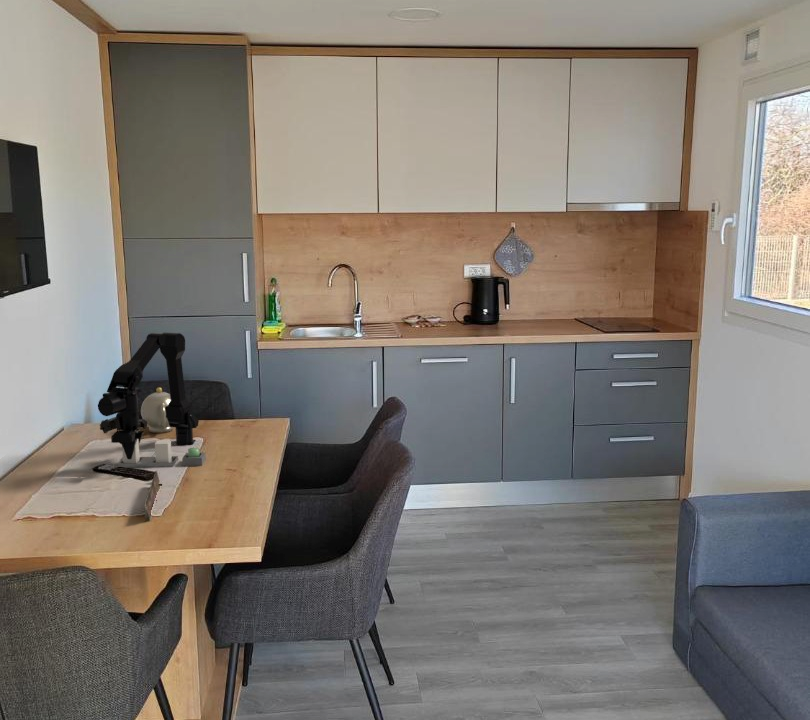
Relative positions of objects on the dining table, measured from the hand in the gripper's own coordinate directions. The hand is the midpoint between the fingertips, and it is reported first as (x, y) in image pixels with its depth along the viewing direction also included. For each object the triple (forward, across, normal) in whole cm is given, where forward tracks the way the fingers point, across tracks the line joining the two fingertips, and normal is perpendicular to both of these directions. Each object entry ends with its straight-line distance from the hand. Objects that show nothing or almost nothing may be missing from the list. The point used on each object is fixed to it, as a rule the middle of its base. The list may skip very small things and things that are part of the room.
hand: (131, 457), depth 252 cm
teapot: (+4, -44, -1) cm, 44 cm away
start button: (+1, 0, +19) cm, 20 cm away
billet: (+2, 0, 0) cm, 2 cm away
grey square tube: (+3, 0, +20) cm, 20 cm away
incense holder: (+4, +33, +15) cm, 36 cm away
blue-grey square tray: (+3, -10, 0) cm, 11 cm away
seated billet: (+2, 0, +10) cm, 10 cm away
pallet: (+3, 0, +5) cm, 6 cm away
